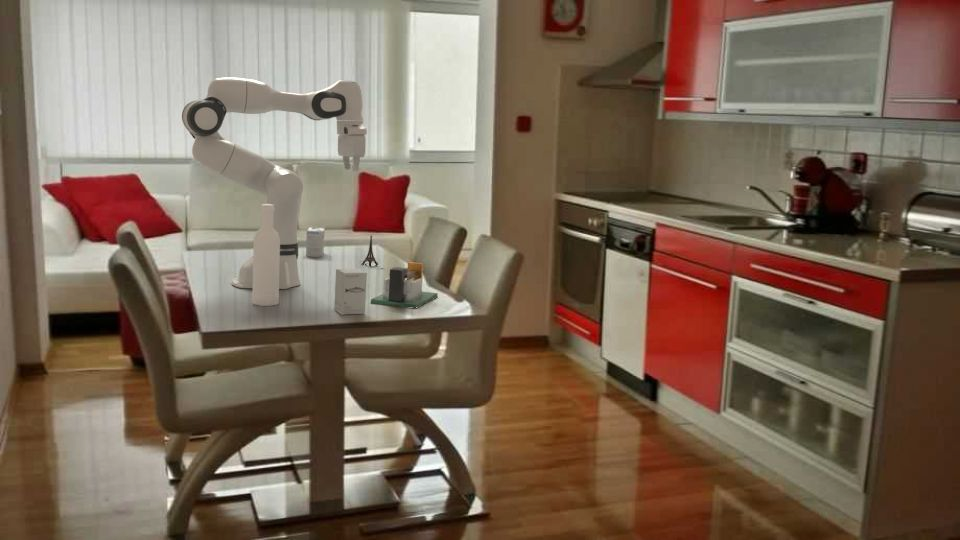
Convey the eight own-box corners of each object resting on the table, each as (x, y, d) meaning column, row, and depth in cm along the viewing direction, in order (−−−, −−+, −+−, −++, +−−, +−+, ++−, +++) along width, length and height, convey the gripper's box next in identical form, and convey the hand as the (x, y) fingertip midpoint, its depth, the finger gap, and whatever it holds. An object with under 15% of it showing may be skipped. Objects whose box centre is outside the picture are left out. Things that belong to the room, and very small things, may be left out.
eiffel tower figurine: (384, 270, 334) (385, 236, 331) (357, 269, 332) (359, 235, 330) (383, 264, 348) (385, 231, 346) (358, 262, 347) (359, 230, 345)
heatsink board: (395, 291, 290) (396, 259, 289) (437, 296, 286) (439, 263, 285) (370, 302, 270) (372, 267, 269) (415, 308, 267) (417, 272, 265)
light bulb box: (307, 252, 363) (308, 226, 361) (324, 253, 363) (324, 227, 362) (305, 256, 352) (306, 230, 350) (322, 257, 353) (323, 230, 351)
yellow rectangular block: (407, 285, 287) (408, 261, 286) (421, 287, 286) (423, 263, 284) (395, 291, 276) (396, 266, 275) (410, 292, 275) (411, 268, 274)
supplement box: (341, 315, 251) (343, 272, 249) (333, 310, 257) (335, 268, 255) (365, 314, 254) (367, 272, 252) (357, 309, 261) (359, 268, 259)
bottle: (254, 306, 255) (256, 205, 250) (249, 301, 262) (251, 202, 257) (281, 305, 258) (283, 206, 253) (276, 300, 265) (278, 203, 260)
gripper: (332, 129, 299) (334, 169, 302) (349, 129, 281) (351, 171, 284) (349, 128, 302) (351, 168, 305) (368, 129, 284) (369, 171, 286)
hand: (351, 170), depth 294 cm, fingers open, 8 cm apart
